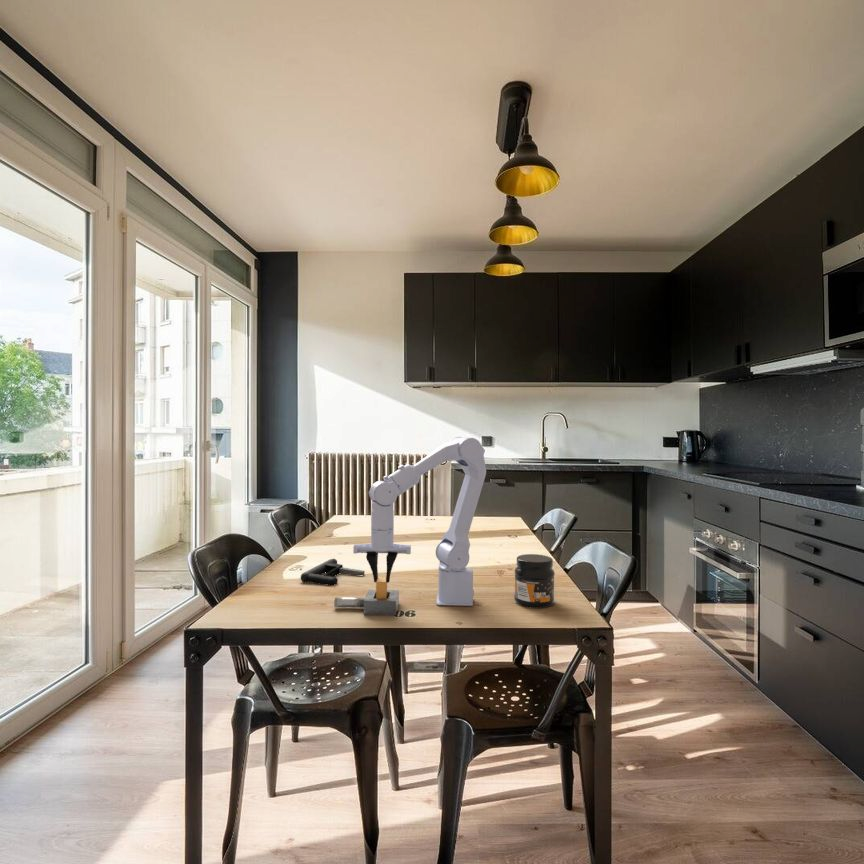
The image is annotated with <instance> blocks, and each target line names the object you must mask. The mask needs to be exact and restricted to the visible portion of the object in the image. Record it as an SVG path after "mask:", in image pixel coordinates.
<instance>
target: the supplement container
mask: <svg viewBox="0 0 864 864" xmlns="http://www.w3.org/2000/svg"><path fill="white" fill-rule="evenodd" d="M553 562H554V559H553V558H552V557H551V556H548V555H545V554H536V553H525V554H520V555H518V556H517V557H516V567H515V568H514V601H515V603H516V604H518V605H520V606H522V607H526V608H530V607H531V609H544V607H545V608H548V606H549V607H551V606H552V605H553V604H554V602H555V573H556V572H555V570H554V569H553V566H554V563H553Z"/></svg>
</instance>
